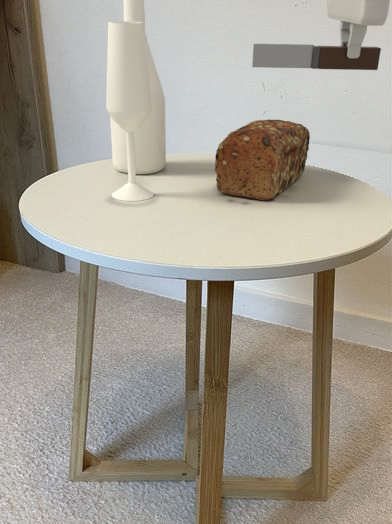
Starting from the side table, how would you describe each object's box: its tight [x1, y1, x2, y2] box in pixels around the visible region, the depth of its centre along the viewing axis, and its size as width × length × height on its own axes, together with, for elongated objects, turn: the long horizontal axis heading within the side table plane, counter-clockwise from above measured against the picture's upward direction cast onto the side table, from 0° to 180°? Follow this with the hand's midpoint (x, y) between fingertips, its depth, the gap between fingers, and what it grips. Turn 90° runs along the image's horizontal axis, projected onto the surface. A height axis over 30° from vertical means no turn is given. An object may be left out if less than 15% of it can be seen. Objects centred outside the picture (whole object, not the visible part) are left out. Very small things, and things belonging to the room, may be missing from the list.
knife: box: [251, 43, 382, 71], centre depth 91 cm, size 19×2×3 cm, turn 92°
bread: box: [214, 118, 311, 201], centre depth 98 cm, size 19×11×10 cm, turn 154°
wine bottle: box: [109, 0, 167, 175], centre depth 101 cm, size 10×10×30 cm
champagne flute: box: [105, 20, 155, 202], centre depth 89 cm, size 7×7×24 cm
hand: (348, 56), depth 91 cm, fingers closed on knife, 2 cm apart
